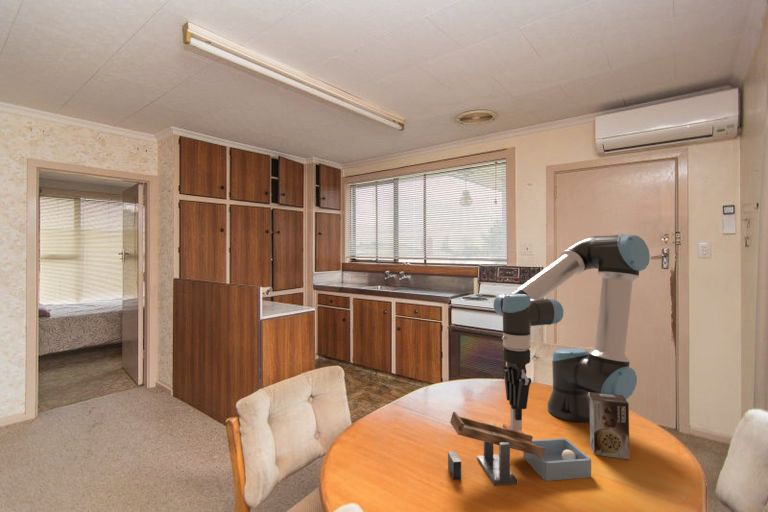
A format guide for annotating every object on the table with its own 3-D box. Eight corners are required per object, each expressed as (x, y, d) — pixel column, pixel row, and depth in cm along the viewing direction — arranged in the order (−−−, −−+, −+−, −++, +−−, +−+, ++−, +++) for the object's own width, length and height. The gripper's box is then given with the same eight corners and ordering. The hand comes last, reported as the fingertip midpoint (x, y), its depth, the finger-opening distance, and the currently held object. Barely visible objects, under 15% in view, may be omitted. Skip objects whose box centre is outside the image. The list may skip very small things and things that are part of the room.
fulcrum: (497, 457, 106) (497, 422, 106) (517, 483, 94) (517, 444, 94) (444, 461, 104) (444, 426, 104) (457, 488, 93) (457, 448, 92)
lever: (517, 431, 112) (520, 421, 112) (544, 458, 97) (547, 447, 97) (443, 411, 109) (446, 401, 109) (458, 436, 94) (462, 424, 94)
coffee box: (623, 449, 111) (623, 394, 111) (630, 460, 105) (630, 403, 104) (589, 444, 114) (589, 391, 114) (593, 454, 108) (593, 399, 107)
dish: (565, 453, 108) (565, 437, 108) (592, 477, 97) (592, 459, 97) (522, 456, 107) (522, 440, 107) (544, 480, 95) (544, 463, 95)
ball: (571, 457, 104) (569, 445, 104) (579, 464, 101) (577, 452, 101) (560, 461, 104) (558, 448, 104) (568, 468, 100) (565, 455, 100)
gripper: (494, 342, 114) (494, 420, 114) (514, 354, 101) (514, 441, 101) (518, 342, 115) (517, 418, 115) (540, 353, 102) (540, 439, 102)
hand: (516, 429), depth 108 cm, fingers closed
